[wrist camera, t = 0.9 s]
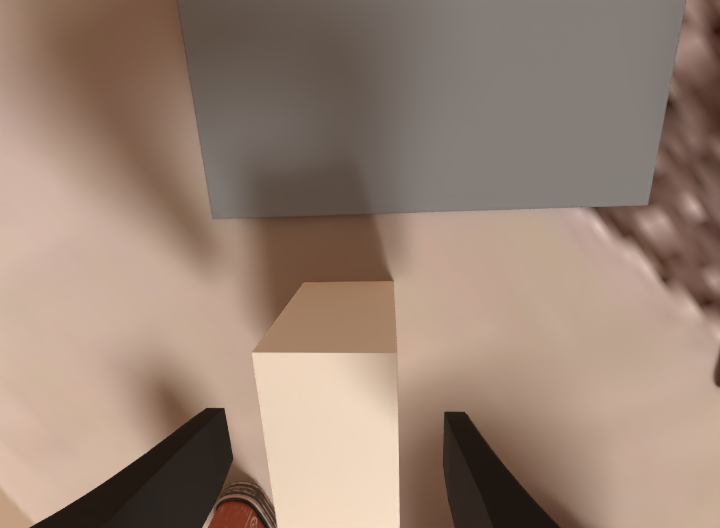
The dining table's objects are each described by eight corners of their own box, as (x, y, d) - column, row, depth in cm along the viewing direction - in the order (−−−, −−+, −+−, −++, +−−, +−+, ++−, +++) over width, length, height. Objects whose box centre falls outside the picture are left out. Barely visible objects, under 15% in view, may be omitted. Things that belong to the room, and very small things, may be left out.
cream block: (393, 280, 15) (397, 353, 9) (395, 414, 17) (399, 546, 11) (303, 282, 15) (251, 352, 9) (315, 413, 17) (279, 539, 11)
